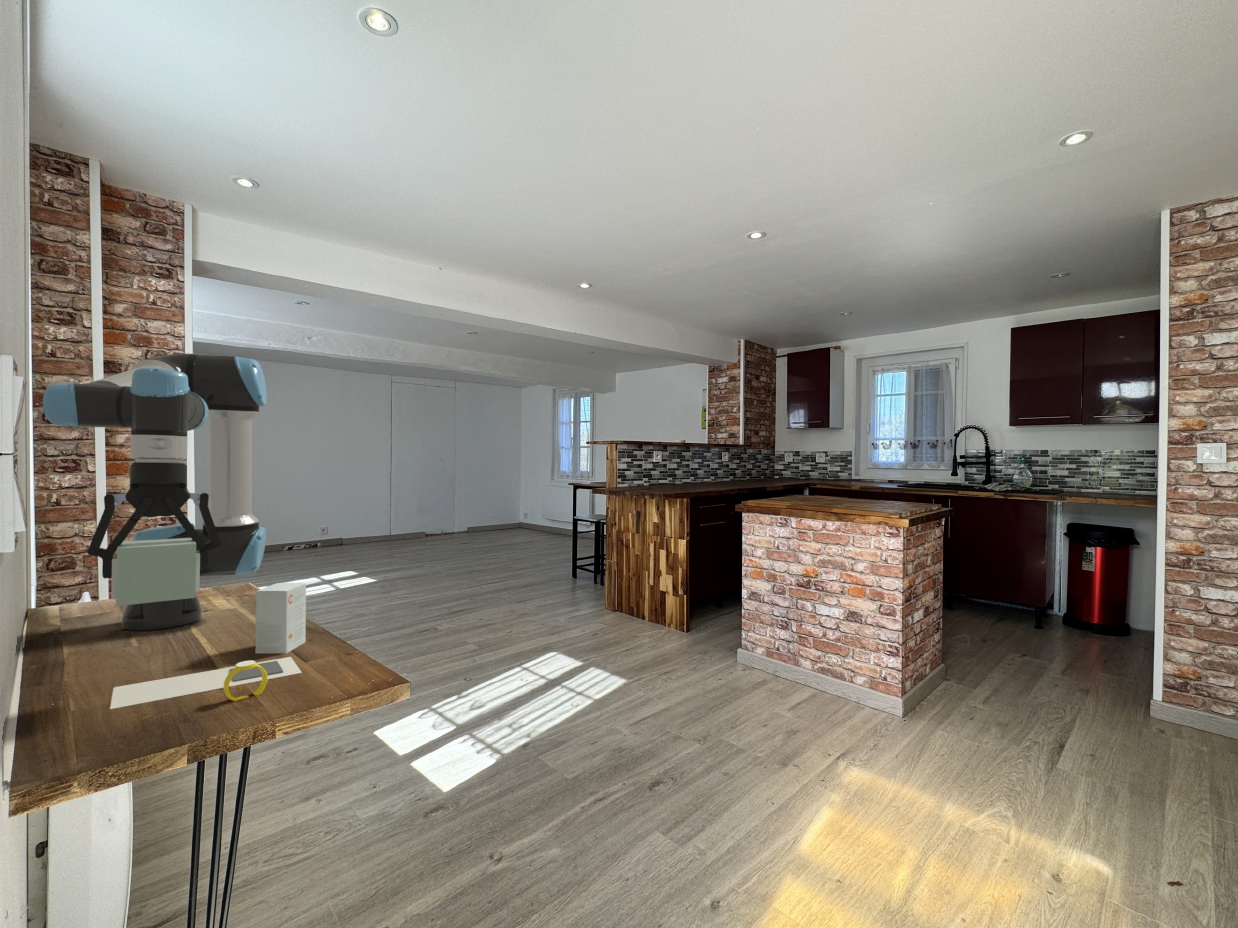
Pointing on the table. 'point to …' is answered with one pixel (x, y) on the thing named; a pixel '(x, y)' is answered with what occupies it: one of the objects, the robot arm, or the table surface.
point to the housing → (155, 571)
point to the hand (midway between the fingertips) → (156, 593)
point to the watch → (245, 666)
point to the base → (198, 683)
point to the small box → (280, 617)
